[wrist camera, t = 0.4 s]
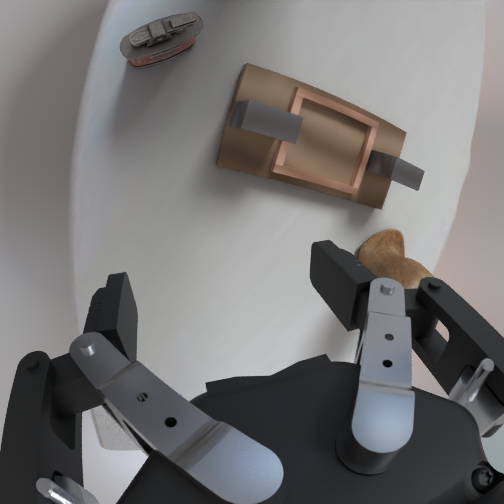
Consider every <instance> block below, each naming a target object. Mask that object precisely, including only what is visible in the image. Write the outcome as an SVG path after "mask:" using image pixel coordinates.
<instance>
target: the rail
mask: <svg viewBox="0 0 504 504" xmlns="http://www.w3.org/2000/svg"><path fill="white" fill-rule="evenodd" d="M406 133H407V132H405V131H403V130H401V129H400V128H398V127H396V126H394V125H392V124H391V123H389V122H387V121H385V120H383V119H381V118H379V117H378V116H376V115H374V114H372V113H370V112H368V111H366V110H364V109H362V108H360V107H358V106H356V105H354V104H351V103H349V102H347V101H345V100H343V99H341V98H339V97H336V96H334V95H332V94H329V93H327V92H325V91H323V90H320V89H318V88H315V87H313V86H310V85H308V84H305V83H303V82H300V81H298V80H295V79H292V78H290V77H287V76H284V75H281V74H279V73H276V72H273V71H270V70H267V69H264V68H261V67H258V66H255V65H251V64H248V63H247V64H245V65H244V67H243V70H242V73H241V76H240V79H239V83H238V86H237V89H236V93H235V96H234V99H233V103H232V106H231V110H230V113H229V117H228V120H227V124H226V127H225V131H224V134H223V138H222V142H221V145H220V149H219V153H218V157H217V160H216V165H217V166H218V167H222V168H227V169H232V170H236V171H241V172H245V173H249V174H254V175H258V176H262V177H266V178H270V179H275V180H279V181H283V182H286V183H290V184H294V185H298V186H302V187H306V188H309V189H313V190H317V191H320V192H324V193H327V194H331V195H334V196H338V197H341V198H345V199H348V200H352V201H355V202H358V203H361V204H365V205H368V206H371V207H374V208H377V209H382V206H383V204H384V201H385V198H386V195H387V192H388V189H389V187H390V184H391V181H392V180H393V181H396V182H398V183H401V184H403V185H405V186H408V187H410V188H412V189H415V190H417V191H418V190H419V187H420V184H421V181H422V178H423V175H424V172H425V171H423V170H421V169H420V168H418V167H416V166H414V165H412V164H410V163H408V162H406V161H404V160H402V159H400V158H399V156H400V153H401V150H402V146H403V143H404V140H405V136H406Z"/></svg>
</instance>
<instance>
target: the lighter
mask: <svg viewBox="0 0 504 504" xmlns="http://www.w3.org/2000/svg"><path fill="white" fill-rule="evenodd" d="M202 28H203V22H202V19H201V18H200V17H199V16H198V15H197V14H196V13H195V12H190V13H185V14H178V15H172V16H169V17H165V18H162V19H158V20H155V21H153V22H151V23H148V24H146V25H144V26H142V27H140V28H138V29H136V30H135V31H133V32H131V33H130V34H128V35H127V36H125V37H124V38H123V39H122V41H121V43H120V51H121V52H122V54H123V56H125V57H126V58H128V62H129V64H130V66H131V67H133V68H134V69H142V68H146V67H151V66H154V65H157V64H160V63H163V62H166V61H169V60H171V59H173V58H175V57H178V56H180V55H182V54H183V53H185V52H187V51H189V50H191V49H192V48H193V47H194V45H195V42H196V37H197V35H198V34H200V32H201V30H202Z"/></svg>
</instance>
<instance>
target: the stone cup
mask: <svg viewBox="0 0 504 504" xmlns="http://www.w3.org/2000/svg"><path fill="white" fill-rule="evenodd" d="M359 261H360V262H362V263H363V265H365V266H366V267H367V268H368V269H369V270H370V271H371V272H373V273H374V274H375V275H376V276H377V277H378V278H390V279H393V280H395V281H397V282H399V283H400V284H401V285H402V286H403V288H404V289H415V288H418V286H419V282H420V280H421V279H422V278H424V277H433V275H432V274H431V273H430V272H429V271H428V270H427V269H426V268H425V267H424V266H422V265H421V264H420V263H418V262H416V261H414V260H412V259H409V258H405V253H404V239H403V235H402V233H401V232H400V231H399V230H396V229H388V230H384V231H381V232H379V233H376V234H374V235H373V236H371V237H370V238H369V239H368V241H367V242H365V243H363V245H362V246H361V249H360V252H359Z"/></svg>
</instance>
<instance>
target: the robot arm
mask: <svg viewBox="0 0 504 504" xmlns="http://www.w3.org/2000/svg"><path fill="white" fill-rule="evenodd" d="M310 279H311V283H312V285H313V287H314V288H315V289H316V291H317V292H318V293H319V294H320V296H321V297H322V298H323V300H324V301H325V302H326V303H327V305H328V306H329V307H330V309H331V310H332V311H333V312H334V314H335V315H336V316H337V318H338V319H339V320H340V322H341V323H342V324H343V325H344V327H345V328H346V329H347V331H351V330H355V329H358V328H359V330H360V333H359V337H358V343H357V349H356V354H355V359H354V363H349V362H331V361H330V360H329V358H328V356H327V355H326V354H324V355H320V356H317V357H313V358H310V359H306V360H303V361H299V362H297V363H295V364H293V365H291V366H289V367H287V368H285V369H283V370H281V371H279V372H277V373H275V374H273V375H270V376H242V377H232V378H227V379H222V380H217V381H212V382H206V383H205V384H206V388H207V392H205V393H203V394H201V395H199V396H197V397H195V398H194V399H192V400H191V401H187V400H186V399H185V398H183V397H182V396H181V395H180V394H178V393H177V392H176V391H174V390H173V389H172V388H171V387H169V386H168V385H167V384H166V383H164V382H163V381H162V380H161V379H159V378H158V377H157V376H156V375H155V374H153V373H152V372H151V371H150V370H149V369H147V368H146V367H145V366H144V365H143V364H142V363H140V362H139V361H136V354H137V323H138V313H137V307H136V302H135V299H134V296H133V292H132V289H131V285H130V282H129V278H128V275H127V273H126V272H123V273H117V274H110V275H109V276H108V280H107V284H106V287H104V288H99V289H98V290H97V291H96V293H95V294H94V295H93V296H92V300H91V304H90V305H91V306H90V307H89V313H88V315H87V319H86V323H85V327H84V331H83V334H82V335H80V336H79V337H77V338H76V339H75V340H74V341H73V342H72V343H71V345H70V348H69V353H67V354H65V355H62V356H59V357H57V358H54V359H51V360H50V358H49V356H48V355H47V354H46V353H44V352H42V351H34V352H31V353H29V354H27V355H26V356H25V357H23V359H21V361H20V363H19V364H18V367H17V370H16V374H15V378H14V382H13V386H12V390H11V394H10V399H9V403H8V408H7V413H6V418H5V424H4V430H3V436H2V443H1V450H0V504H99V503H98V500H97V499H96V497H95V496H94V495H93V494H91V493H90V492H89V491H87V490H86V489H84V487H83V486H84V485H83V469H82V412H83V411H86V410H89V409H91V408H94V407H97V406H99V405H101V406H102V407H103V408H104V409H105V410H106V412H107V413H108V414H109V415H110V416H111V417H112V418H113V420H114V421H115V422H116V423H117V424H118V425H119V426H120V427H121V428H122V429H123V431H124V432H125V433H126V434H127V435H128V436H129V437H130V438H131V439H132V440H133V441H134V443H135V444H136V445H137V446H138V447H139V448H140V449H141V450H142V451H143V452H144V453H145V454H146V455H147V456H148V458H147V460H146V461H145V463H144V464H143V466H142V467H141V469H140V470H139V472H138V473H137V474H136V476H135V477H134V479H133V480H132V482H131V483H130V485H129V486H128V488H127V489H126V490H125V492H124V493H123V495H122V496H121V497H120V499H119V500H118V502H117V503H116V504H504V474H503V473H500V472H498V471H496V470H495V469H494V468H493V467H492V466H491V465H490V464H489V462H488V460H487V458H486V456H485V453H484V450H483V447H482V443H481V438H480V437H490V436H492V435H493V434H494V433H495V432H496V431H497V430H498V429H499V428H500V427H501V426H502V425H503V424H504V338H503V337H502V336H501V335H500V334H499V333H498V332H497V331H496V330H495V329H494V328H493V327H492V326H491V325H490V324H489V323H488V322H487V321H486V320H485V319H484V318H483V317H482V316H481V315H480V314H479V313H478V312H477V311H476V310H475V309H474V308H473V307H472V306H470V305H469V304H468V303H467V302H466V301H465V300H464V299H463V298H462V297H461V296H460V295H458V294H457V293H456V292H455V291H454V290H453V289H452V288H451V287H450V286H448V285H447V284H446V283H445V282H443V281H442V280H440V279H437V278H434V277H424V278H422V279H421V280H420V282H419V286H418V288H415V289H404V288H403V286H402V285H401V284H400V283H399V282H397V281H395V280H393V279H390V278H378V277H377V276H376V275H375V274H374V273H373V272H371V271H370V270H369V269H368V268H367V267H366V266H365V265H363V263H362V262H360V261H359V260H358V259H357V258H356V257H355V256H354V255H353V254H351V253H350V252H348V251H345V250H343V249H339V248H338V247H337V246H336V245H335V244H334V243H333V242H332V241H330V240H325V241H319V242H314V243H313V244H312V248H311V262H310ZM438 320H440V321H441V322H442V323H443V324H444V326H445V327H446V328H447V329H448V331H449V341H448V342H447V341H446V340H445V339H444V338H443V337H442V336H441V335H440V333H439V332H438V331H437V330H436V329H435V328H436V325H437V323H438ZM412 349H413V350H414V351H415V353H416V354H417V355H418V356H419V358H420V359H421V360H422V362H423V363H424V364H425V365H426V367H427V368H428V369H429V371H430V372H431V373H432V375H433V376H434V377H435V378H436V380H437V381H438V382H439V384H440V385H441V386H442V388H443V389H444V391H445V392H446V393H447V395H448V396H449V399H446V398H443V397H440V396H437V395H435V394H432V393H429V392H426V391H424V390H421V389H418V388H416V387H413V386H411V381H412V380H411V379H412Z"/></svg>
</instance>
